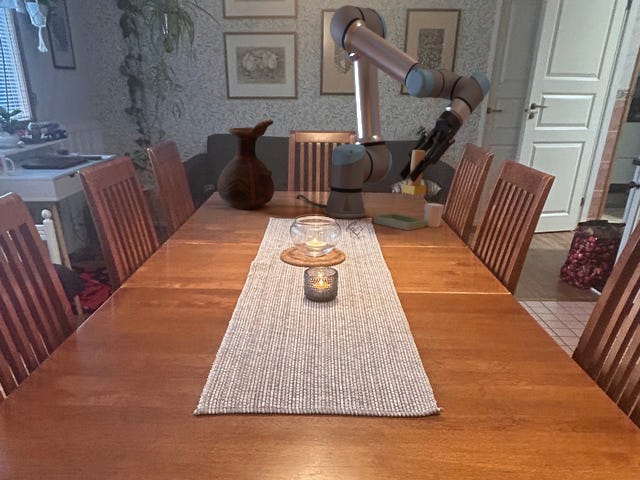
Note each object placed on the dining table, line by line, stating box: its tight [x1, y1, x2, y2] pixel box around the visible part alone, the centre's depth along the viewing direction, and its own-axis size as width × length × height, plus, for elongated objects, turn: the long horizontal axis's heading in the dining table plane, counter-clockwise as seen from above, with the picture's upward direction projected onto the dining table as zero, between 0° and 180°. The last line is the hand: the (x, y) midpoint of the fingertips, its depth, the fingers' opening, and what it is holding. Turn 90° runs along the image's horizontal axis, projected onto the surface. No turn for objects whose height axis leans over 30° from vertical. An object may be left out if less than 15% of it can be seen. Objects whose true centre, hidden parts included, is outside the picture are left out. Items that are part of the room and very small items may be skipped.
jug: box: [216, 119, 276, 210], centre depth 222 cm, size 22×22×30 cm
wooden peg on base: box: [401, 150, 427, 196], centre depth 191 cm, size 6×5×12 cm
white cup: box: [423, 202, 445, 228], centre depth 210 cm, size 7×7×7 cm
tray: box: [373, 212, 427, 231], centre depth 210 cm, size 15×10×2 cm
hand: (406, 177), depth 190 cm, fingers closed on wooden peg on base, 4 cm apart
